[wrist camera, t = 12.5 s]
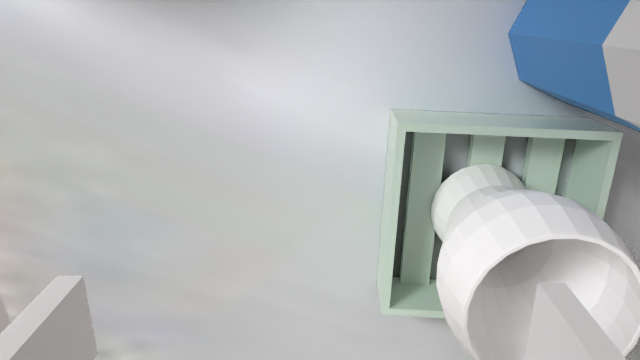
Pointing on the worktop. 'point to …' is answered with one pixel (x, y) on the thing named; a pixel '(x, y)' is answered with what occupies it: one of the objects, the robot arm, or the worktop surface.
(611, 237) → the cup
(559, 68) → the water bottle
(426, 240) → the dish rack
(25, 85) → the worktop surface
